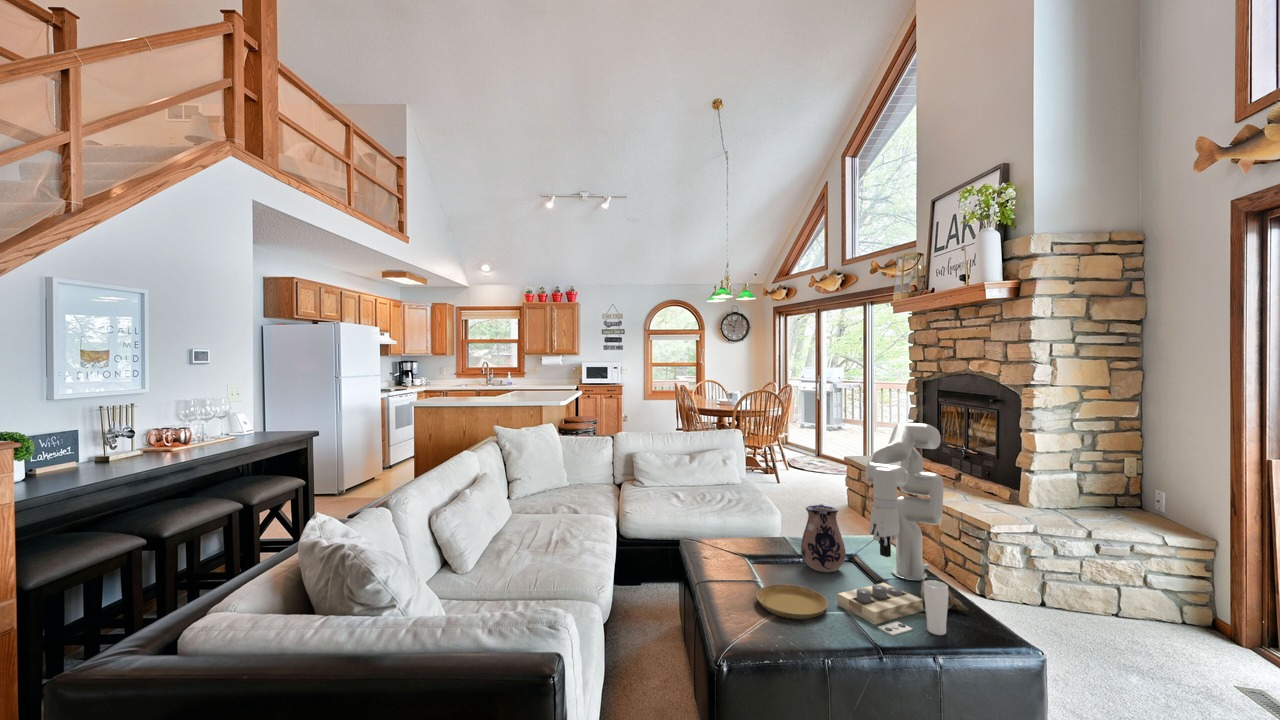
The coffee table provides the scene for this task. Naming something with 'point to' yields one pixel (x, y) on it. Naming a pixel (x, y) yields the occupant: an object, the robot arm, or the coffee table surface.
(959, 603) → the ceramic sculpture
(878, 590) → the middle button
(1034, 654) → the coffee table surface
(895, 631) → the pattern card
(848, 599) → the button board
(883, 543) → the robot arm
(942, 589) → the drinking glass
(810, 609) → the plant saucer
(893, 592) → the button
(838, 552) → the ceramic pitcher
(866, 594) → the button
